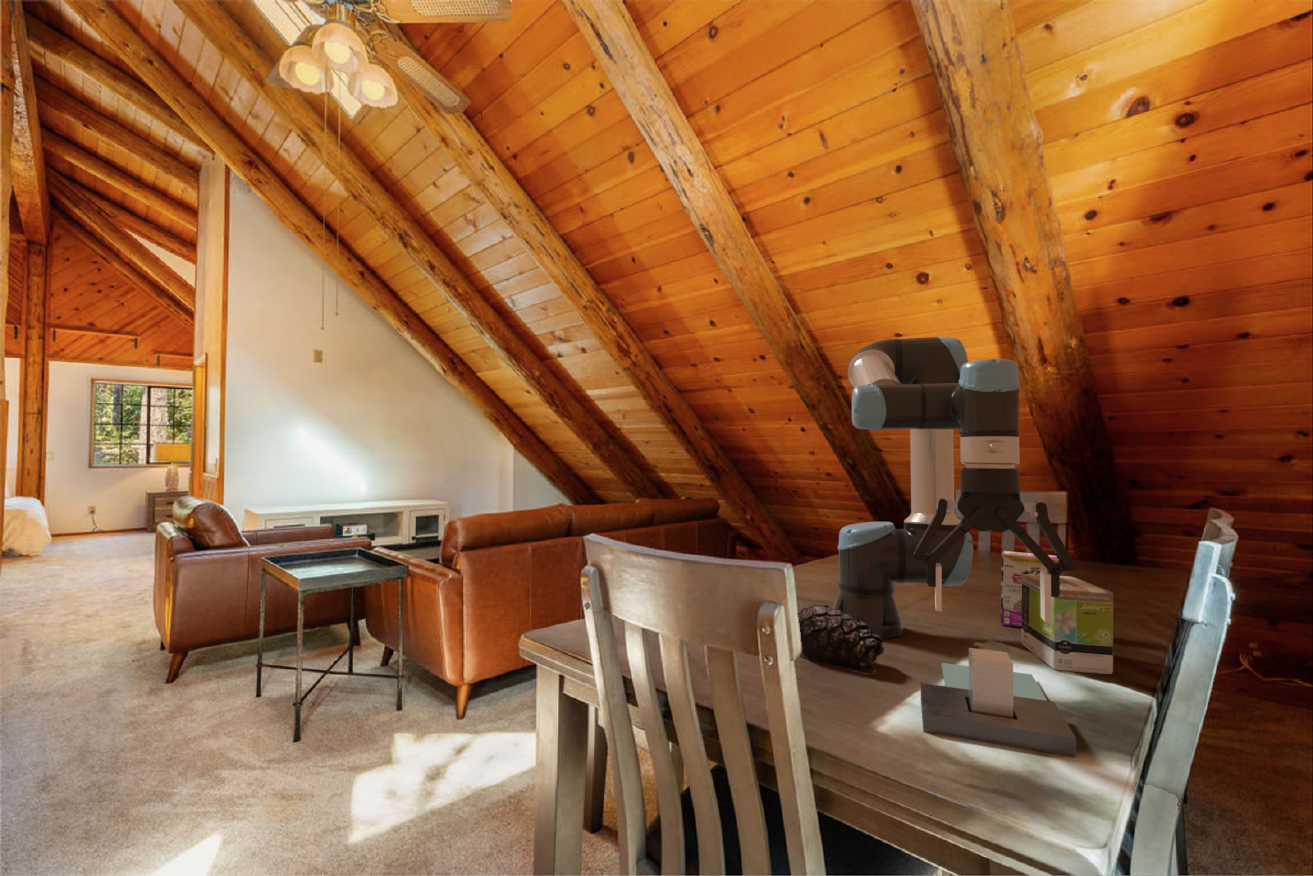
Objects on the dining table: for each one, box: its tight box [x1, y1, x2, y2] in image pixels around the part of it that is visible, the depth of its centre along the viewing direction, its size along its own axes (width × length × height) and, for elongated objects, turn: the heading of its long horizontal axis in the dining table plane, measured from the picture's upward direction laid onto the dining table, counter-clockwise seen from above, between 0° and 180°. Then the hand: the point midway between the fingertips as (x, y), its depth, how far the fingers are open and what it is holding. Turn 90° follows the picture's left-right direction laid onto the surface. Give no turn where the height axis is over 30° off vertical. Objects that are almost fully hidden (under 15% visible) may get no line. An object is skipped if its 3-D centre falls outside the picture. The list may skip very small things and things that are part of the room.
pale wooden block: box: [968, 647, 1014, 719], centre depth 86 cm, size 5×5×10 cm
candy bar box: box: [1000, 550, 1059, 628], centre depth 134 cm, size 11×5×16 cm, turn 58°
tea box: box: [1020, 574, 1114, 675], centre depth 114 cm, size 15×10×15 cm, turn 168°
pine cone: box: [797, 602, 885, 676], centre depth 112 cm, size 10×18×10 cm, turn 51°
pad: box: [941, 662, 1048, 701], centre depth 100 cm, size 14×12×1 cm
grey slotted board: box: [920, 682, 1077, 758], centre depth 86 cm, size 18×12×2 cm, turn 68°
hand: (990, 614), depth 86 cm, fingers open, 13 cm apart
